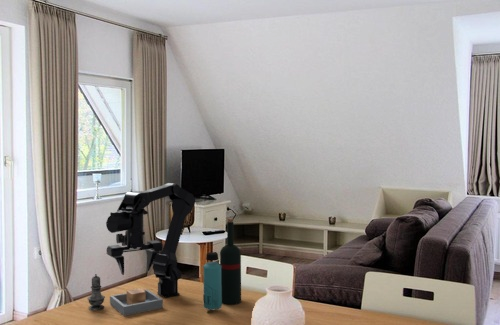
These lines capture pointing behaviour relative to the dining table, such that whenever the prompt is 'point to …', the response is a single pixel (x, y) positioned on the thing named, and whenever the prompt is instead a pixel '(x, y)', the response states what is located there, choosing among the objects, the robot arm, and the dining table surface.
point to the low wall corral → (121, 304)
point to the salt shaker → (96, 295)
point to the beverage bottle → (212, 282)
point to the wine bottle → (230, 269)
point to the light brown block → (136, 296)
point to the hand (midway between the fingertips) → (135, 272)
